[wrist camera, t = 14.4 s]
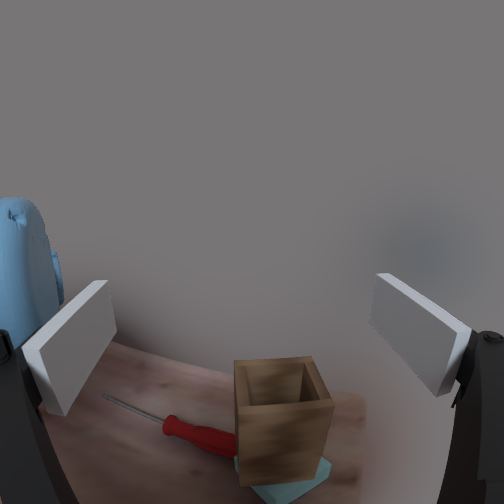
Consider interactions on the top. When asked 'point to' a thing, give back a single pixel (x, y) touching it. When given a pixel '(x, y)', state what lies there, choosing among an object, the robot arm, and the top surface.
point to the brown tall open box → (279, 420)
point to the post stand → (290, 486)
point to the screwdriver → (194, 433)
